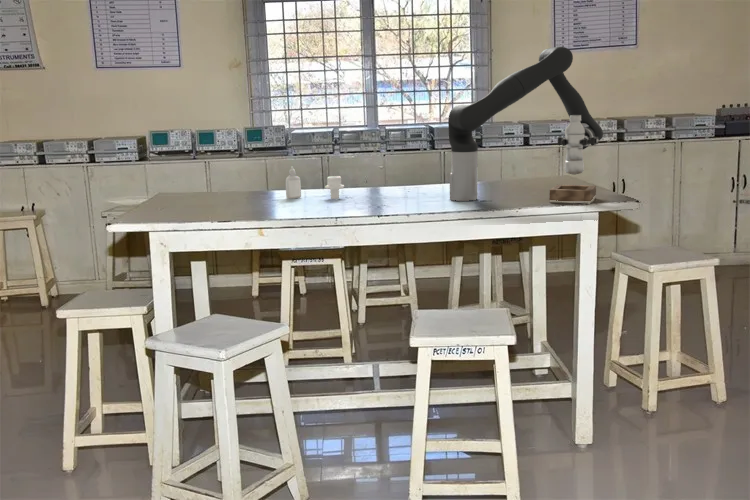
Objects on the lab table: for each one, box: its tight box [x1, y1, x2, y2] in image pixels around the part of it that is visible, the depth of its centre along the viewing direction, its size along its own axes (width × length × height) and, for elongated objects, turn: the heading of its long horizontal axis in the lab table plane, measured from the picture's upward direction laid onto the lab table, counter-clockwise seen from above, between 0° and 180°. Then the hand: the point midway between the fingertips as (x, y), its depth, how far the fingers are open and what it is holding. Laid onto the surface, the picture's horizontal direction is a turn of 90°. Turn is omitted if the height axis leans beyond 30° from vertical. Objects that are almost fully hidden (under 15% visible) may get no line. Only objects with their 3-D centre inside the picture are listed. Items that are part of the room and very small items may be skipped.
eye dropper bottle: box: [285, 165, 302, 200], centre depth 280 cm, size 4×6×12 cm
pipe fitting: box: [324, 175, 345, 200], centre depth 277 cm, size 6×7×8 cm
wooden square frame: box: [549, 184, 597, 201], centre depth 256 cm, size 14×14×4 cm
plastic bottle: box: [563, 115, 585, 176], centre depth 253 cm, size 6×7×20 cm
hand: (573, 142), depth 250 cm, fingers closed on plastic bottle, 6 cm apart
